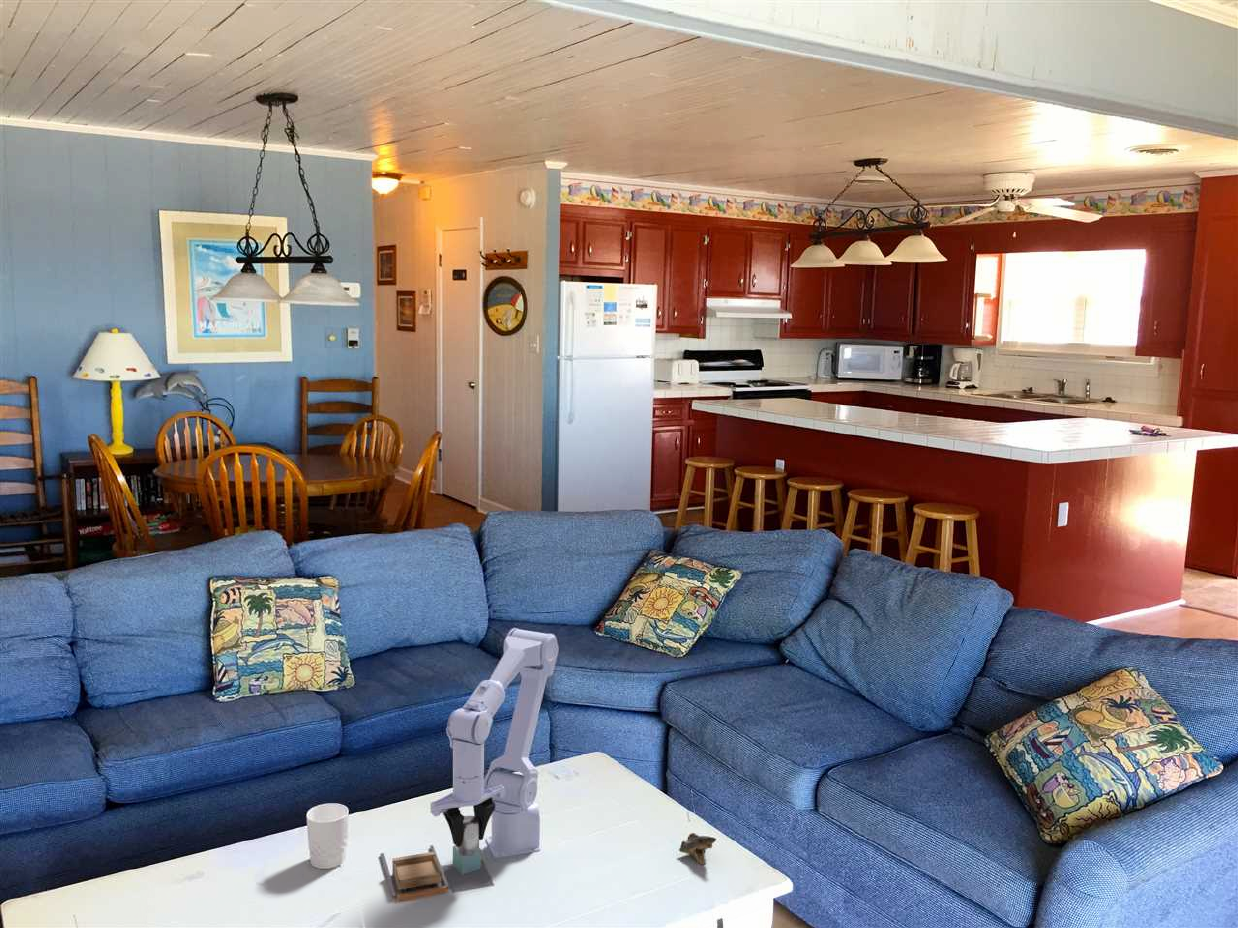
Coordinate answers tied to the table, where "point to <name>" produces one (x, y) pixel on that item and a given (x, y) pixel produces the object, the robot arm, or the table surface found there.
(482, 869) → the mat
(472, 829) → the part
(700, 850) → the shark head
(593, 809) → the table surface
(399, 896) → the track
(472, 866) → the part
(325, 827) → the white cup
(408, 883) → the brown wooden tray
